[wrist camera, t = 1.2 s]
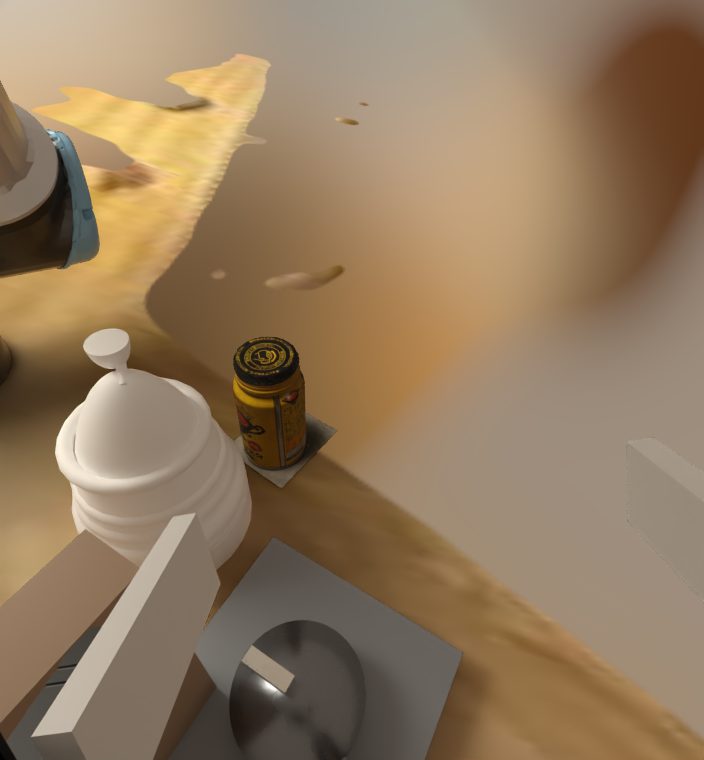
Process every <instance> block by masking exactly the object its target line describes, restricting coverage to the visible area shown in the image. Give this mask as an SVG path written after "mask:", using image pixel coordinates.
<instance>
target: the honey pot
mask: <svg viewBox="0 0 704 760" xmlns="http://www.w3.org/2000/svg"><path fill="white" fill-rule="evenodd" d="M83 347H84V350H85V352H86V354H87V355H88V356H89V358H90V359H91V360H92V361H93V362H95V363H96V364H97V365H99V366H101V367H104V368H108V369H115V368H116V370H115V371H112V372H110V373H108V374H106V375H105V376H103V377H102V378H101V379H100V380H98V382H97V383H96V384H95V385H94V386H93V388H92V389H91V390H90V392H89V394H88V396H87V398H86V400H85V401H84V402H83V403H82V404H80V405H79V406H78V407H77V408H75V410H74V411H73V412H72V413H71V415H70V416H69V417H68V418H67V419H66V421H65V422H64V424H63V426H62V428H61V430H60V433H59V435H58V437H57V441H56V450H55V455H56V459H57V462H58V465H59V469H60V471H61V472H62V473H63V474H64V476H65V477H66V478H67V479H68V480H69V482H70V484H71V488H72V498H73V501H72V514H73V518H74V521H75V525H76V528H77V532H78V535H79V534H80V533H81V532H82V531H84V530H85V529H86V530H88V531H89V532H90V533H92V534H93V535H95V536H96V537H97V538H99V539H100V540H102V541H103V542H104V543H106V544H107V545H109V546H110V547H111V548H113V549H114V550H115V551H117V552H118V553H120V554H121V555H122V556H124V557H125V558H127V559H128V560H129V561H131V562H132V563H134V564H135V565H136V566H138V567H139V568H140V567H141V565H142V564H143V562H144V561H145V559H146V558H147V556H148V555H149V553H150V551H151V550H152V548H153V547H154V545H155V544H156V542H157V541H158V539H159V537H160V536H161V534H162V533H163V531H164V530H165V528H166V527H167V525H168V523H169V522H170V520H171V519H172V517H174V516H180V515H186V514H192V513H197V516H198V519H199V522H200V525H201V528H202V531H203V534H204V536H205V539H206V542H207V545H208V548H209V551H210V554H211V557H212V560H213V563H214V566H215V569H216V570H217V569H218V568H219V567H220V566H222V565H223V564H224V563H225V562H226V561H227V560H228V559H229V558H230V557H232V555H233V554H234V552H235V551H236V549H237V548H238V546H239V545H240V544H241V542H242V541H243V539H244V537H245V534H246V532H247V529H248V526H249V524H250V521H251V510H252V500H251V495H250V490H249V484H248V479H247V475H246V469H245V465H244V460H243V456H242V454H241V453H240V451H239V449H238V448H237V446H236V445H235V443H234V441H233V440H232V439H231V438H230V437H229V436H228V435H227V434H226V433H225V432H224V431H223V430H222V429H221V428H220V426H219V424H218V423H217V421H216V420H215V419H213V418H212V416H211V411H210V407H209V406H208V404H207V402H206V401H205V399H204V398H203V396H202V395H201V394H200V393H199V392H197V391H196V390H195V389H194V388H193V387H191V386H189V385H187V384H184V383H182V382H180V381H177V380H173V379H167V378H162V377H158V376H155V375H153V374H151V373H148V372H146V371H142V370H137V369H127V364H126V361H127V360H128V358H129V355H130V350H131V345H130V339H129V336H128V334H127V333H126V332H125V331H123V330H120V329H104V330H100V331H98V332H95V333H93V334H92V335H90V336H89V337H88V338H87V339H86V340H85V342H84V345H83ZM75 438H76V439H75ZM74 441H75V451H74Z"/></svg>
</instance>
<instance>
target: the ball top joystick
mask: <svg viewBox="0 0 704 760" xmlns="http://www.w3.org/2000/svg"><path fill="white" fill-rule="evenodd" d="M365 705H366V685H365V679H364V673H363V670H362V667H361V664H360V661H359V659H358V657H357V655H356V653H355V651H354V650H353V648H352V647H351V645H350V644H349V643H348V642H347V640H346V639H345V638H344V637H343V636H342V635H341V634H339V633H338V632H337V631H335V630H334V629H332V628H331V627H329V626H327V625H324V624H322V623H319V622H315V621H309V620H295V621H290V622H286V623H283V624H280V625H278V626H276V627H273V628H271V629H270V630H268V631H267V632H265V633H264V634H263V635H262V636H260V637H259V638H258V639H257V640H256V641H255V642H254V643H253V644H252V645H251V646H250V648H249V649H248V650H247V652H246V653H245V655H244V656H243V658H242V660H241V661H240V663H239V665H238V668H237V670H236V672H235V675H234V678H233V681H232V686H231V691H230V699H229V715H230V723H231V727H232V731H233V735H234V737H235V740H236V743H237V745H238V747H239V748H240V750H241V752H242V754H243V755H244V756H245V758H246V759H247V760H347V759H346V756H347V755H348V753H349V752H350V750H351V748H352V747H353V745H354V743H355V740H356V738H357V735H358V733H359V730H360V727H361V725H362V721H363V717H364V712H365Z"/></svg>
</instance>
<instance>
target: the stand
mask: <svg viewBox="0 0 704 760" xmlns="http://www.w3.org/2000/svg"><path fill="white" fill-rule="evenodd" d="M138 570H139V567H138V566H136V565H135V564H134V563H132V562H131V561H129V560H128V559H127V558H125V557H124V556H122V555H121V554H120V553H118V552H117V551H115V550H114V549H113V548H111V547H110V546H109V545H107V544H106V543H104V542H103V541H102V540H100V539H99V538H97V537H96V536H95V535H93V534H92V533H90V532H89V531H88V530H86V529H85V530H84V531H82V532H81V533H80V534H79V535H78V536H77V537H76V538H75V539H74V540H73V541H72V542H71V543H69V544H68V545H67V546H66V547H65V548H64V549H63V550H62V551H61V552H60V553H59V554H58V555H57V556H55V557H54V558H53V559H52V560H51V561H50V562H49V563H48V564H47V565H46V566H45V567H44V568H42V569H41V570H40V571H39V572H38V573H37V574H36V575H35V576H34V577H33V578H32V579H31V580H29V581H28V582H27V583H26V584H25V585H24V586H23V587H22V588H21V589H20V590H19V591H18V592H17V593H15V594H14V595H13V596H12V597H11V598H10V599H9V600H8V601H7V602H6V603H5V604H4V605H2V606H1V607H0V732H1V733H2V735H3V737H4V739H5V740H6V741H7V739H8V738H9V736H10V735H11V734H12V732H13V731H14V729H15V728H16V726H17V725H18V723H19V722H20V720H21V719H22V718H23V716H24V715H25V713H26V712H27V710H28V709H29V707H30V706H31V704H32V703H33V702H34V700H35V699H36V697H37V696H38V694H39V693H40V691H41V690H42V688H45V687H46V683H47V681H48V680H49V678H50V677H51V675H52V674H53V672H54V671H57V667H58V665H59V664H60V662H61V661H62V659H63V658H64V656H65V655H66V654H67V652H68V651H69V649H70V648H71V646H72V645H73V644H74V643H76V642H77V641H78V640H79V639H80V638H81V637H82V636H83V635H84V634H85V633H86V632H87V631H88V630H89V629H90V628H93V627H99V626H103V624H104V623H105V621H106V620H107V618H108V617H109V615H110V613H111V612H112V610H113V609H114V607H115V606H116V604H117V603H118V601H119V600H120V598H121V596H122V595H123V593H124V592H125V590H126V589H127V587H128V586H129V584H130V582H131V581H132V579H133V578H134V576H135V575H136V573H137V572H138ZM295 620H309V621H315V622H319V623H322V624H324V625H327V626H329V627H331V628H332V629H334V630H335V631H337V632H338V633H339V634H341V635H342V636H343V637H344V638H345V639H346V640H347V642H348V643H349V644H350V645H351V647H352V648H353V650H354V651H355V653H356V655H357V657H358V659H359V661H360V664H361V667H362V670H363V673H364V679H365V685H366V705H365V712H364V717H363V721H362V725H361V727H360V730H359V733H358V735H357V738H356V740H355V743H354V745H353V747H352V748H351V750H350V752H349V753H348V755H347V756H346V759H347V760H425V757H426V755H427V752H428V749H429V746H430V743H431V741H432V738H433V735H434V732H435V729H436V727H437V724H438V721H439V718H440V716H441V713H442V710H443V707H444V704H445V702H446V699H447V696H448V693H449V691H450V688H451V685H452V682H453V679H454V677H455V674H456V671H457V668H458V666H459V663H460V660H461V657H462V654H463V652H462V651H460V650H458V649H457V648H455V647H453V646H452V645H450V644H448V643H447V642H445V641H444V640H442V639H440V638H439V637H437V636H435V635H434V634H432V633H430V632H429V631H427V630H426V629H424V628H422V627H421V626H419V625H417V624H416V623H414V622H412V621H411V620H409V619H407V618H406V617H404V616H403V615H401V614H399V613H398V612H396V611H394V610H393V609H391V608H389V607H388V606H386V605H385V604H383V603H381V602H380V601H378V600H376V599H375V598H373V597H371V596H370V595H368V594H367V593H365V592H363V591H362V590H360V589H358V588H357V587H355V586H353V585H352V584H350V583H348V582H347V581H345V580H344V579H342V578H340V577H339V576H337V575H335V574H334V573H332V572H330V571H329V570H327V569H326V568H324V567H322V566H321V565H319V564H317V563H316V562H314V561H312V560H311V559H309V558H308V557H306V556H304V555H303V554H301V553H299V552H298V551H296V550H294V549H293V548H291V547H289V546H288V545H286V544H285V543H283V542H281V541H280V540H278V539H276V538H275V537H273V538H272V539H271V541H270V542H269V543H268V545H267V546H266V547H265V549H264V550H263V551H262V553H261V554H260V555H259V557H258V558H257V559H256V561H255V562H254V563H253V565H252V566H251V567H250V569H249V570H248V571H247V573H246V574H245V575H244V577H243V578H242V580H241V581H240V582H239V584H238V585H237V586H236V588H235V589H234V590H233V592H232V593H231V594H230V596H229V597H228V598H227V600H226V601H225V602H224V604H223V605H222V606H221V608H220V609H219V610H218V612H217V613H216V614H215V616H214V617H213V618H212V620H211V621H210V622H209V624H208V625H207V626H206V628H205V629H204V630H203V632H202V634H201V636H200V639H199V641H198V644H197V646H196V649H195V652H194V654H193V657H192V659H191V662H190V665H189V667H188V670H187V672H186V675H185V678H184V680H183V683H182V685H181V688H180V690H179V693H178V696H177V698H176V701H175V703H174V706H173V709H172V711H171V714H170V716H169V719H168V722H167V724H166V727H165V729H164V732H163V734H162V737H161V740H160V742H159V745H158V747H157V750H156V753H155V755H154V758H153V760H247V759H246V758H245V756H244V755H243V754H242V752H241V750H240V748H239V747H238V745H237V743H236V740H235V737H234V735H233V731H232V727H231V723H230V715H229V699H230V691H231V686H232V681H233V678H234V675H235V672H236V670H237V668H238V665H239V663H240V661H241V660H242V658H243V656H244V655H245V653H246V652H247V650H248V649H249V648H250V646H251V645H252V644H253V643H254V642H255V641H256V640H257V639H258V638H259V637H260V636H262V635H263V634H264V633H265V632H267V631H268V630H270V629H271V628H273V627H276V626H278V625H280V624H283V623H286V622H290V621H295Z"/></svg>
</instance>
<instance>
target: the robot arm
mask: <svg viewBox="0 0 704 760" xmlns="http://www.w3.org/2000/svg"><path fill="white" fill-rule="evenodd" d="M92 209H93V207H92V203H91V197H90V193H89V190H88V186H87V183H86V179H85V176H84V173H83V169H82V166H81V163H80V160H79V158H78V155H77V152H76V150H75V147H74V145H73V143H72V141H71V140H70V138H69V137H68V136H66V135H65V134H64V133H62V132H59V131H51V130H49V129H48V130H46V129H44V128H43V126H42V125H41V124H40V123H39V122H38V121H37V120H36V119H35V117H33V116H32V115H31V114H30V113H28V112H27V111H26V110H24V109H23V108H21V107H20V106H18V105H17V104H15V103H12V102H11V101H10V100H9V98H8V95H7V93H6V91H5V89H4V87H3V85H2V83H1V81H0V278H5V277H11V276H16V275H22V274H27V273H32V272H38V271H43V270H49V269H54V268H57V269H66V268H68V267H69V266H70V265H74V264H78V263H82V262H86V261H89V260H91V259H93V258H94V257H95V256H96V255H97V254H98V251H99V246H100V243H99V234H98V228H97V223H96V219H95V215H94V212H93V211H92ZM10 366H11V353H10V351H9V349H8V347H7V346H6V344H5V342H4V341H3V339H2V338H1V336H0V384H1V383H2V381H3V380H4V378H5V377H6V375H7V373H8V371H9V369H10ZM626 444H627V445H626V448H627V509H628V510H627V511H628V512H627V514H628V522H629V523H630V524H631V525H632V526H633V527H634V528H635V529H636V531H638V533H640V535H641V536H642V537H643V538H644V539H645V540H646V541H647V542H648V543H649V544H650V545H651V547H652V548H653V549H654V550H655V551H656V552H657V553H658V554H659V555H660V556H661V557H662V558H663V559H664V560H665V562H666V563H667V564H668V565H669V566H670V567H671V568H672V569H673V570H674V571H675V572H676V573H677V574H678V575H679V577H681V579H682V580H683V581H684V582H685V583H686V584H687V585H688V586H689V587H690V588H691V589H692V591H693V592H694V593H695V594H696V595H697V596H698V597H699V598H700V599H701V600H702V601H703V602H704V472H703V471H701V470H700V469H698V468H697V467H696V466H694V465H693V464H691V463H690V462H688V461H687V460H685V459H684V458H683V457H681V456H680V455H678V454H677V453H675V452H674V451H673V450H671V449H670V448H668V447H667V446H665V445H664V444H663V443H661V442H660V441H658V440H657V439H655V438H654V437H651V438H645V439H639V440H633V441H627V443H626ZM220 584H221V583H220V580H219V577H218V574H217V572H216V569H215V566H214V563H213V560H212V557H211V554H210V551H209V548H208V545H207V542H206V539H205V536H204V534H203V531H202V528H201V525H200V522H199V519H198V516H197V513H192V514H186V515H180V516H174V517H172V519H171V520H170V522H169V523H168V525H167V527H166V528H165V530H164V531H163V533H162V534H161V536H160V537H159V539H158V541H157V542H156V544H155V545H154V547H153V548H152V550H151V551H150V553H149V555H148V556H147V558H146V559H145V561H144V562H143V564H142V565H141V567H140V568H139V570H138V572H137V573H136V575H135V576H134V578H133V579H132V581H131V582H130V584H129V586H128V587H127V589H126V590H125V592H124V593H123V595H122V596H121V598H120V600H119V601H118V603H117V604H116V606H115V607H114V609H113V610H112V612H111V613H110V615H109V617H108V618H107V620H106V621H105V623H104V624H103V626H99V627H93V628H90V629H89V630H88V631H87V632H86V633H85V634H84V635H83V636H82V637H81V638H80V639H79V640H78V641H77V642H76V643H74V644H73V645H72V646H71V648H70V649H69V651H68V652H67V654H66V655H65V656H64V658H63V659H62V661H61V662H60V664H59V665H58V667H57V671H54V672H53V674H52V675H51V677H50V678H49V680H48V681H47V683H46V687H45V688H42V690H41V691H40V693H39V694H38V696H37V697H36V699H35V700H34V702H33V703H32V704H31V706H30V707H29V709H28V710H27V712H26V713H25V715H24V716H23V718H22V719H21V720H20V722H19V723H18V725H17V726H16V728H15V729H14V731H13V732H12V734H11V735H10V736H9V738H8V739H7V741H6V740H5V739H4V737H3V735H2V733H1V732H0V760H153V758H154V755H155V753H156V750H157V747H158V745H159V742H160V740H161V737H162V734H163V732H164V729H165V727H166V724H167V722H168V719H169V716H170V714H171V711H172V709H173V706H174V703H175V701H176V698H177V696H178V693H179V690H180V688H181V685H182V683H183V680H184V678H185V675H186V672H187V670H188V667H189V665H190V662H191V659H192V657H193V654H194V652H195V649H196V646H197V644H198V641H199V639H200V636H201V634H202V631H203V628H204V626H205V623H206V621H207V618H208V615H209V613H210V610H211V608H212V605H213V602H214V600H215V597H216V595H217V592H218V590H219V587H220Z"/></svg>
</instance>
